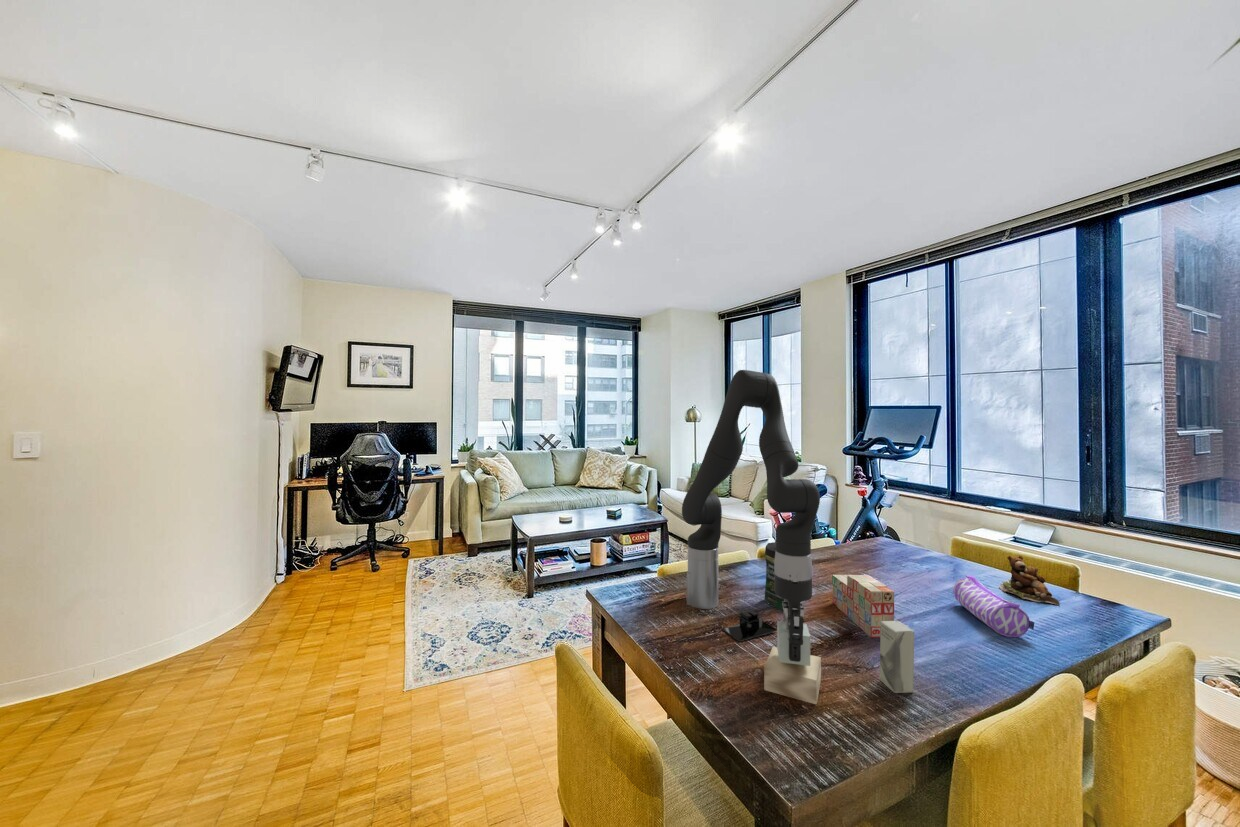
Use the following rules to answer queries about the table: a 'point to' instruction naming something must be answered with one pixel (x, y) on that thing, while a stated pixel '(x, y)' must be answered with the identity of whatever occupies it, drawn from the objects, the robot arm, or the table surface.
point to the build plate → (749, 627)
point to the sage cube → (784, 645)
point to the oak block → (793, 678)
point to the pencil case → (992, 608)
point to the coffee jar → (771, 577)
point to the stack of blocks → (864, 601)
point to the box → (897, 656)
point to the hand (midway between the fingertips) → (792, 652)
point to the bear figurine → (1027, 583)
